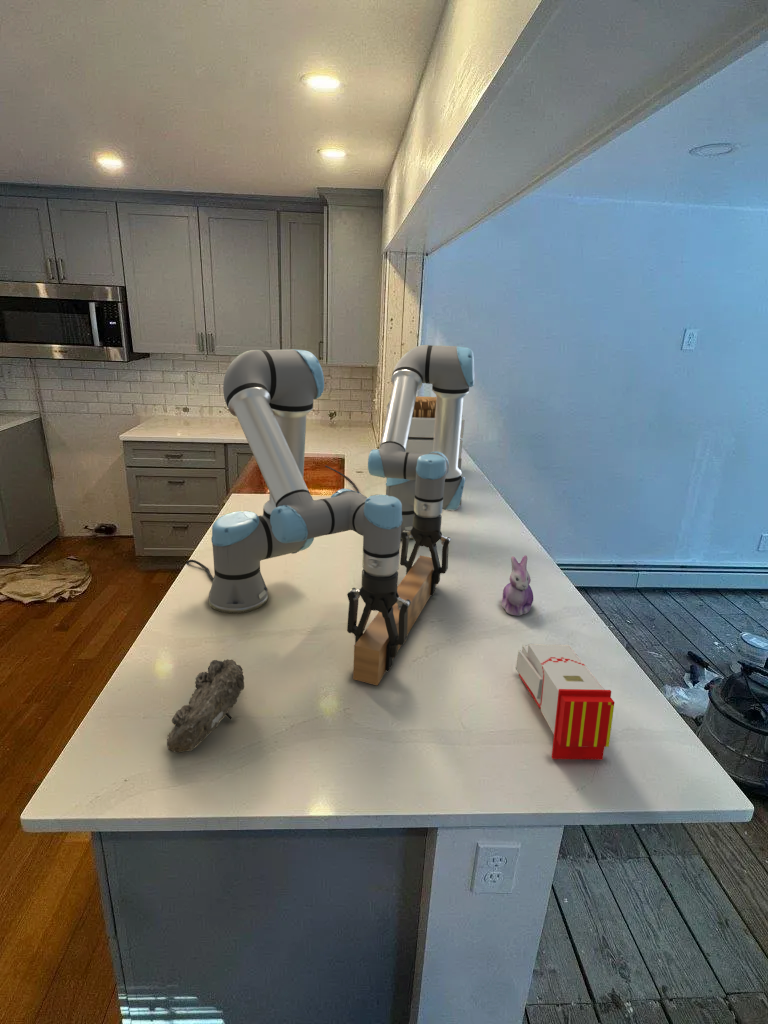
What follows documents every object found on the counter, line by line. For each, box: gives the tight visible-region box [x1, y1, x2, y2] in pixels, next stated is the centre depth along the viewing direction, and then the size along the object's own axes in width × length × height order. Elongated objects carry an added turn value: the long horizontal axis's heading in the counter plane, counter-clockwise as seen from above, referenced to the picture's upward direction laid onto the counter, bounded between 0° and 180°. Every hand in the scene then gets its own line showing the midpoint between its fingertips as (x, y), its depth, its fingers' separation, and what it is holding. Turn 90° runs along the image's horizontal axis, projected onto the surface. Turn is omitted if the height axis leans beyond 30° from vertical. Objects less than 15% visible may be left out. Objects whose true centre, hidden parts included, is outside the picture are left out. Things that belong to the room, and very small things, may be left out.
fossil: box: [166, 658, 245, 754], centre depth 106 cm, size 22×10×15 cm
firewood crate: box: [385, 395, 465, 471], centre depth 268 cm, size 34×33×41 cm
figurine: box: [501, 555, 534, 617], centre depth 150 cm, size 9×10×15 cm
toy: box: [515, 643, 615, 761], centre depth 113 cm, size 12×13×30 cm
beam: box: [352, 554, 438, 687], centre depth 140 cm, size 50×6×8 cm, turn 161°
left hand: (375, 664), depth 125 cm, fingers closed on beam, 6 cm apart
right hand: (421, 590), depth 158 cm, fingers closed on beam, 6 cm apart
